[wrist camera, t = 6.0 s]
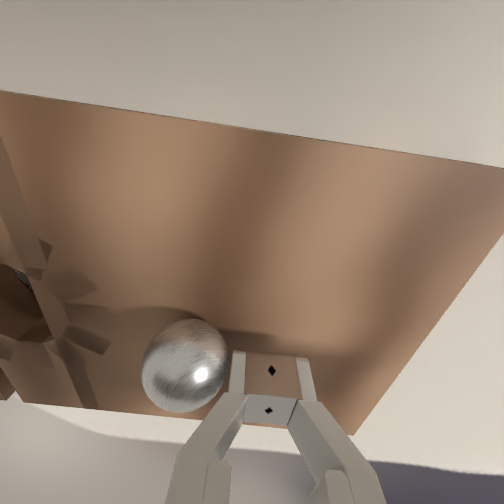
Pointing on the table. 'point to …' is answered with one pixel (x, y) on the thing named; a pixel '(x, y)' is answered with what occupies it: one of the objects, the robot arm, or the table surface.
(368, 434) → the table surface
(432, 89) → the table surface
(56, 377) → the grooved wooden board
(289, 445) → the table surface
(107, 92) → the table surface
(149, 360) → the ball
